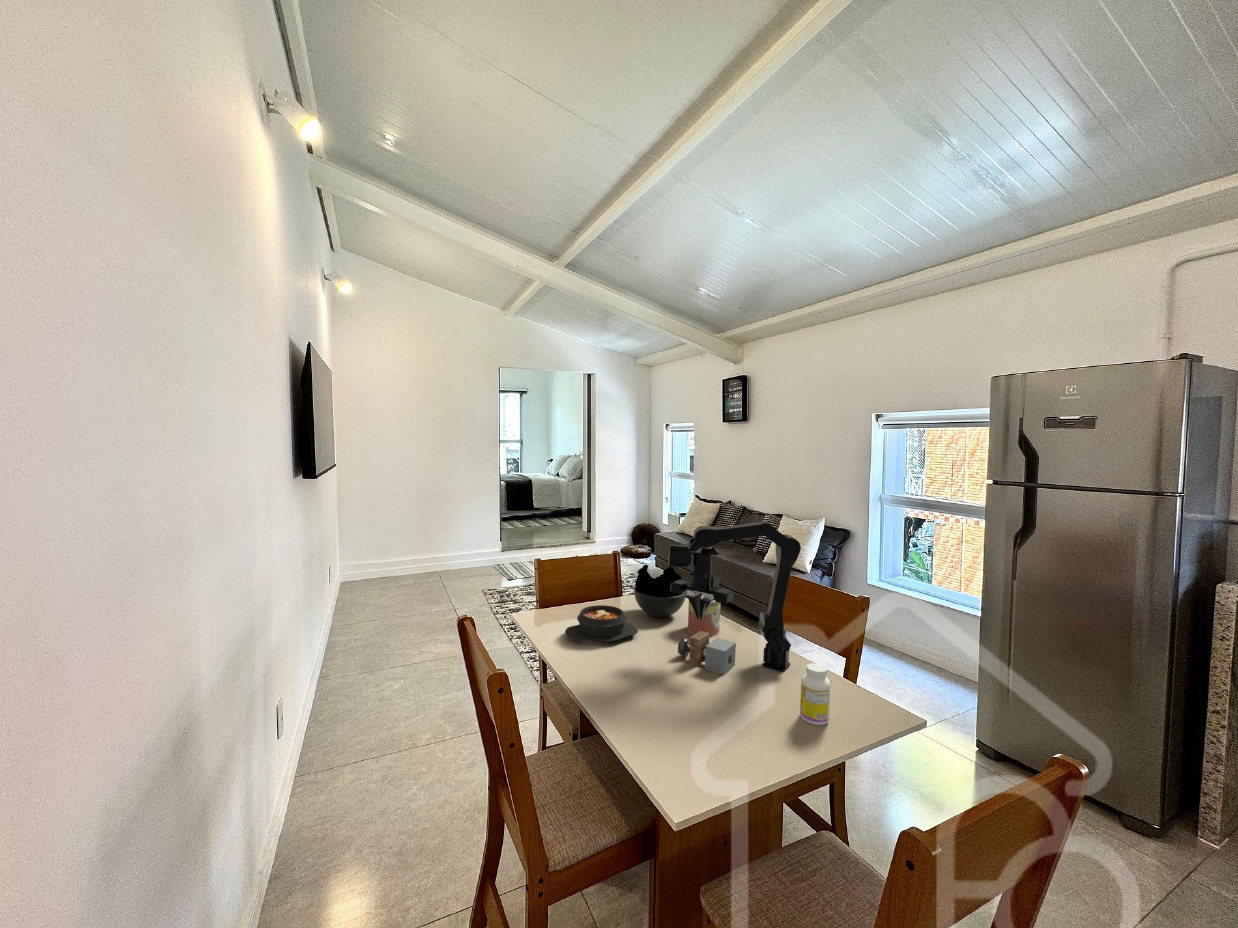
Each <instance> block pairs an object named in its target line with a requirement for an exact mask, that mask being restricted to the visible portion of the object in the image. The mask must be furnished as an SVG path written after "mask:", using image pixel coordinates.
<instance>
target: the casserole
mask: <svg viewBox="0 0 1238 928" xmlns="http://www.w3.org/2000/svg"><path fill="white" fill-rule="evenodd" d="M576 620H577V621H578V623H579V624H575V625H570V626H568V627H567V628H566V629H565V630H564V633H565V635H566V637H568V638H570V639H571V640H574V641H587V642H588V641H589V642H595V643H609V642H616V641H619V640H622V639H624V638H628V637H632V636H635V635H636V634H638V632H639V629H638V627H636V626H635V625H633V623H630V622H627V621H628V618H627V616H626V614H625V612H624V610H623V609H622V608H620V607H616V606H612V605H606V604H605V605H602V604H599V605H591V606H587V607H584V608H581V610H580V612H579V614H578V616H577V617H576Z"/></svg>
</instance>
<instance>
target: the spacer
mask: <svg viewBox="0 0 1238 928" xmlns="http://www.w3.org/2000/svg"><path fill="white" fill-rule="evenodd" d="M689 640H690V653H689V661H688V664H689V665H692V666H696V667H699V666H701V665H702V660H703V661H705V656H701V650H702V649H705V650H706V645H708V644H709V643H710V637H709V633H707V632H703V631H700V632H698V633H696V634H695V635H694V634H692V636H690V637H689ZM700 664H701V665H700Z"/></svg>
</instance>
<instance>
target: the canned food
mask: <svg viewBox="0 0 1238 928" xmlns="http://www.w3.org/2000/svg"><path fill="white" fill-rule="evenodd" d="M702 598H703V595H702V597H701V599H702ZM687 614H688V615H687V617H688V618H687V631H688V632H689V633H690V634H691V635H695V634H696V633H698V632H700V631H703V632H707V633H709V638H710V637H715V636H718V635H719V634H720V632H721V630H720V629H721V627H720V625H721V624H720V623H721V603H718V602H715V600H713V601H712V602H710V604H709V606H708V608H707V610H706V613H705V615H704V618H703V619H702V620H700V619H697V616H696V614H695V612H694V609H693V607H692V605H691V603H690V601H689V600H688V613H687Z"/></svg>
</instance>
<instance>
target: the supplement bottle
mask: <svg viewBox="0 0 1238 928" xmlns="http://www.w3.org/2000/svg"><path fill="white" fill-rule="evenodd" d="M805 667H806V668H805V672H806V674H804V675H802V677H801V680H800V681H801V683H800V685H801V686H800V703H799V704H800V706H799V715H800V718H801V719H802V720H803V721H805V722H806V723H808V724H810V725H814V726H825V725H827V724H828V723H829V721H830V709H831V707H830V705H831V703H830V702H831V701H830V700H831V681H830V680H829V678H827V672H828V669H827V667H825V666H824V665H822V664H818V663H808V664H806V666H805Z"/></svg>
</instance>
